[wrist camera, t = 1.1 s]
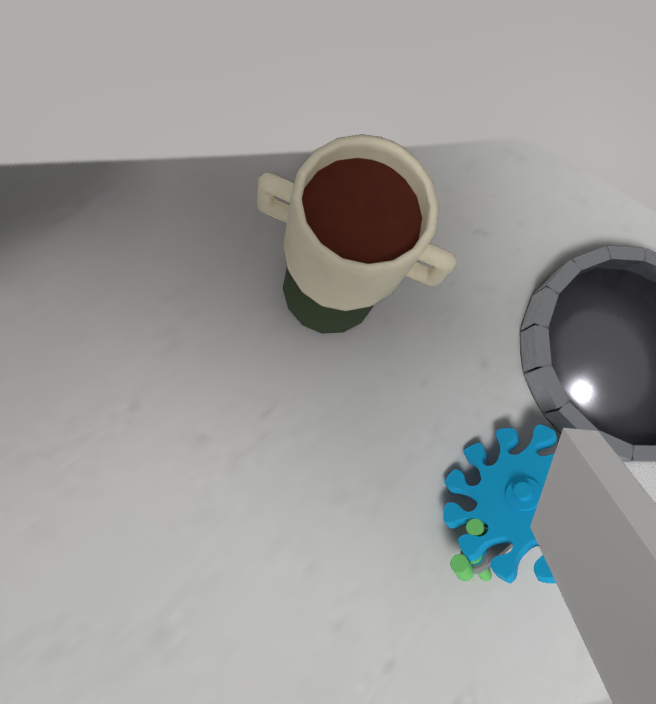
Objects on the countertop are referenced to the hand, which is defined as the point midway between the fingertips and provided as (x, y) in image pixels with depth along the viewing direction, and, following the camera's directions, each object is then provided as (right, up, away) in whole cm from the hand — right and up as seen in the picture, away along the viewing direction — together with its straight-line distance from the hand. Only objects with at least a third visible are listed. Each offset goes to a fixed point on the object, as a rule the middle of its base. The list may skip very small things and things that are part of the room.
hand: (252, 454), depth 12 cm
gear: (+12, -8, +25) cm, 29 cm away
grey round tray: (+23, +2, +29) cm, 37 cm away
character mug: (+2, +6, +27) cm, 28 cm away
